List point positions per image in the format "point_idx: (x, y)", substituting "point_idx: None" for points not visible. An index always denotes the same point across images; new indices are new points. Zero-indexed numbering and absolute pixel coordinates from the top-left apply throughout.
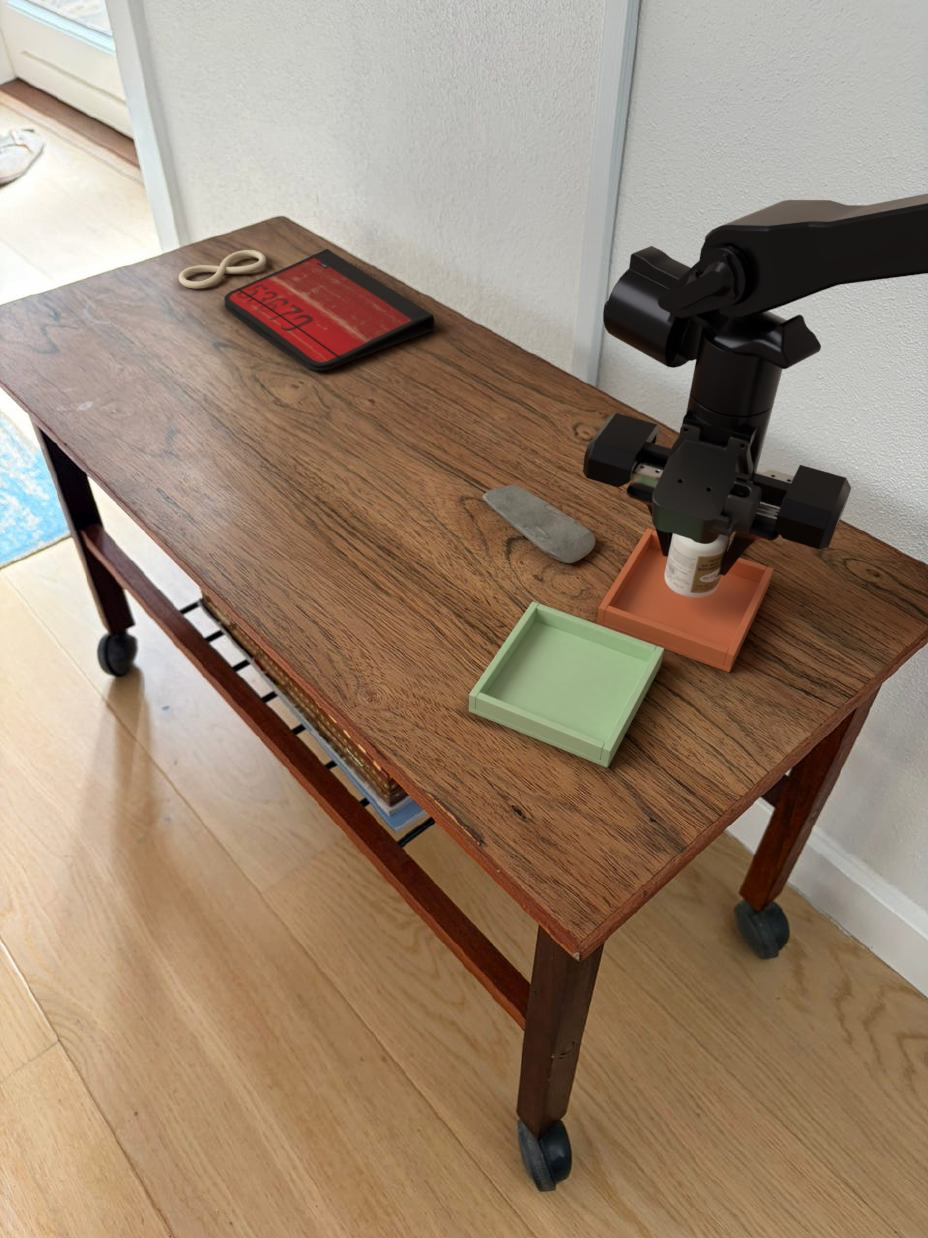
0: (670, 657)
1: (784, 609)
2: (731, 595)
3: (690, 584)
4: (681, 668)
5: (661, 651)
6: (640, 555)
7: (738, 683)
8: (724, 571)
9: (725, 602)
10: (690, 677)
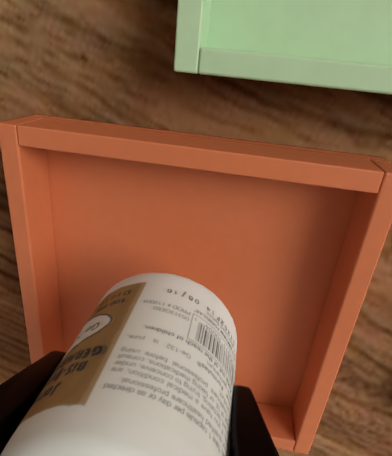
0: (172, 112)
1: (15, 318)
2: None
3: (141, 300)
4: (137, 84)
5: (177, 51)
6: (309, 383)
7: (7, 88)
8: (46, 362)
9: None
10: (108, 60)
